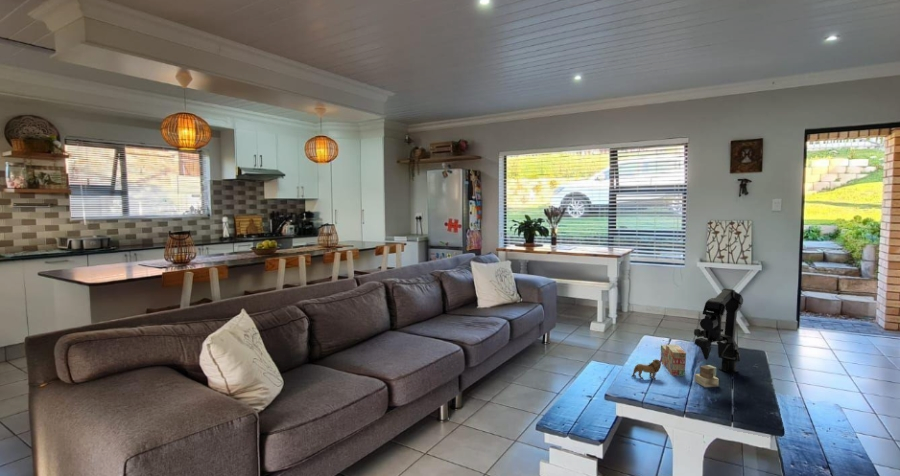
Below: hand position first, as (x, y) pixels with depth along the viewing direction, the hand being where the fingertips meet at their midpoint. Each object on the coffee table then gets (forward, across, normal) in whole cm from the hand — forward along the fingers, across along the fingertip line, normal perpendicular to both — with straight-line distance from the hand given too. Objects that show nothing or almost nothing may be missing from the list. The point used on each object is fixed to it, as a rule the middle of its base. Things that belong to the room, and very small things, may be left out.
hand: (713, 358), depth 217 cm
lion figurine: (+12, +24, -17) cm, 32 cm away
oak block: (+12, +4, 0) cm, 13 cm away
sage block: (+12, -7, -7) cm, 16 cm away
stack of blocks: (+12, +2, -21) cm, 25 cm away
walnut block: (+8, +4, 0) cm, 9 cm away
